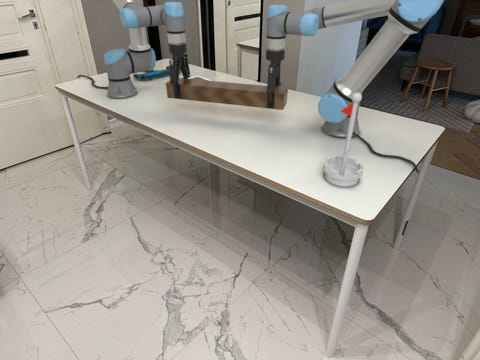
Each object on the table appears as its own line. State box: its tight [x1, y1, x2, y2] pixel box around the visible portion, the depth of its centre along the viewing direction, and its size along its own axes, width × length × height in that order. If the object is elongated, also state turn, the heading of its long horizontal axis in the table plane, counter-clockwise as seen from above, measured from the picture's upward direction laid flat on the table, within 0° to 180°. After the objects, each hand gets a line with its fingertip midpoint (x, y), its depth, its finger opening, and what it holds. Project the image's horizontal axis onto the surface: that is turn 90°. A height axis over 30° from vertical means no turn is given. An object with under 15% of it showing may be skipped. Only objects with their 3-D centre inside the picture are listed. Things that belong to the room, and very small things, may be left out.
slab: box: [165, 77, 289, 111], centre depth 150 cm, size 54×8×7 cm, turn 73°
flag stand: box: [322, 93, 365, 187], centre depth 109 cm, size 13×13×30 cm
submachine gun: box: [132, 65, 181, 81], centre depth 224 cm, size 34×4×25 cm
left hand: (182, 94), depth 156 cm, fingers closed on slab, 9 cm apart
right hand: (272, 104), depth 146 cm, fingers closed on slab, 9 cm apart
